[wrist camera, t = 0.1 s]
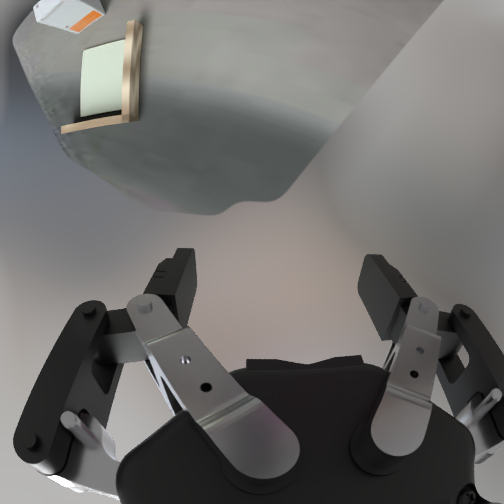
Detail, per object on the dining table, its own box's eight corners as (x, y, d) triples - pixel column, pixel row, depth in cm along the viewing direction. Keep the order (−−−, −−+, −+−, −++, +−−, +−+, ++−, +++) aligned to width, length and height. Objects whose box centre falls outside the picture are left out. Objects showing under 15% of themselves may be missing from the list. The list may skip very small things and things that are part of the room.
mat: (84, 51, 28) (83, 50, 28) (126, 39, 28) (125, 39, 28) (81, 116, 34) (80, 116, 33) (122, 109, 34) (121, 109, 33)
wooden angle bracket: (76, 44, 27) (65, 41, 24) (143, 25, 27) (134, 19, 24) (73, 131, 35) (61, 133, 32) (138, 120, 35) (129, 121, 32)
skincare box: (78, 35, 26) (35, 23, 16) (73, 20, 24) (31, 7, 14) (107, 14, 25) (68, -6, 15) (101, -1, 23) (63, -21, 13)
